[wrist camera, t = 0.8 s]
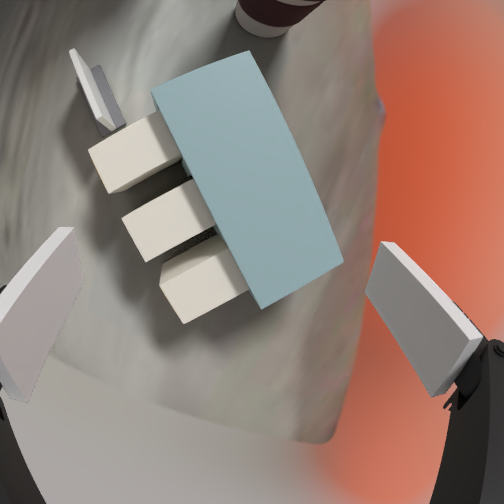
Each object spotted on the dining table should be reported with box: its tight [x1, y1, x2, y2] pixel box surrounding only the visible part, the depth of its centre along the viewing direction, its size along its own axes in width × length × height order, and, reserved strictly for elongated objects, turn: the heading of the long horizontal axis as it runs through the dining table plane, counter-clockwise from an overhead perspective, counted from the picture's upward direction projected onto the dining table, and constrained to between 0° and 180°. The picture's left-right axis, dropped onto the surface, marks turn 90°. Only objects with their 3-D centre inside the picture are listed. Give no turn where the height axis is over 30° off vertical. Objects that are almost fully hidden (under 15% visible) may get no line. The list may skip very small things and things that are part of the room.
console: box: [151, 50, 344, 309], centre depth 30 cm, size 21×9×10 cm, turn 26°
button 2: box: [159, 234, 249, 324], centre depth 32 cm, size 4×10×8 cm, turn 116°
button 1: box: [88, 110, 183, 194], centre depth 28 cm, size 4×10×8 cm, turn 116°
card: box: [69, 48, 126, 137], centre depth 25 cm, size 8×3×7 cm, turn 26°
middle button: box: [121, 178, 216, 262], centre depth 30 cm, size 4×10×8 cm, turn 116°
